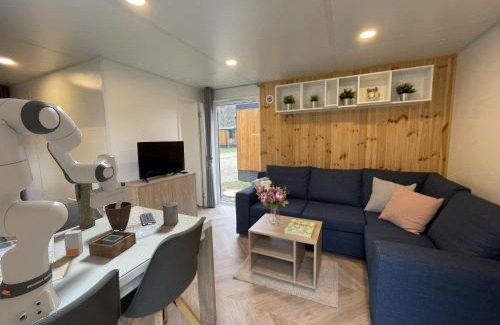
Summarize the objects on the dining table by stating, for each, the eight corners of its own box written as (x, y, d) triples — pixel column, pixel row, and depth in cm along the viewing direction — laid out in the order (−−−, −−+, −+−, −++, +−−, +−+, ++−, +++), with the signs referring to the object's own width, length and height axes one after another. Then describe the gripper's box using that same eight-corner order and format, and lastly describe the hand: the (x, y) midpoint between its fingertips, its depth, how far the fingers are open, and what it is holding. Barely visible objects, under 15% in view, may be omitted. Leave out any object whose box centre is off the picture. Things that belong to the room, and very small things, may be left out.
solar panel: (143, 226, 148) (142, 223, 148) (140, 216, 167) (140, 213, 167) (155, 224, 152) (155, 221, 152) (151, 214, 171) (151, 211, 171)
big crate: (112, 258, 108) (111, 246, 108) (89, 254, 111) (88, 243, 111) (136, 242, 124) (135, 232, 123) (115, 240, 127) (114, 230, 126)
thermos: (100, 222, 153) (95, 173, 149) (88, 229, 142) (83, 176, 137) (87, 222, 153) (82, 173, 149) (74, 230, 141) (68, 176, 137)
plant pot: (137, 224, 149) (136, 202, 147) (123, 234, 135) (121, 209, 133) (117, 224, 151) (115, 201, 149) (100, 233, 136) (98, 208, 134)
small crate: (115, 250, 114) (114, 241, 113) (102, 248, 115) (101, 239, 115) (124, 245, 119) (123, 236, 119) (112, 243, 121) (111, 234, 121)
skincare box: (65, 257, 109) (63, 234, 108) (70, 252, 114) (67, 230, 112) (80, 255, 111) (77, 232, 110) (83, 251, 115) (81, 229, 114)
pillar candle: (162, 221, 154) (161, 201, 152) (177, 219, 159) (176, 199, 157) (164, 227, 146) (163, 205, 144) (179, 224, 150) (178, 203, 148)
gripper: (95, 190, 103) (98, 219, 104) (128, 181, 123) (130, 205, 124) (84, 189, 104) (87, 217, 106) (119, 181, 124) (121, 205, 126)
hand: (110, 211), depth 115 cm, fingers open, 8 cm apart
